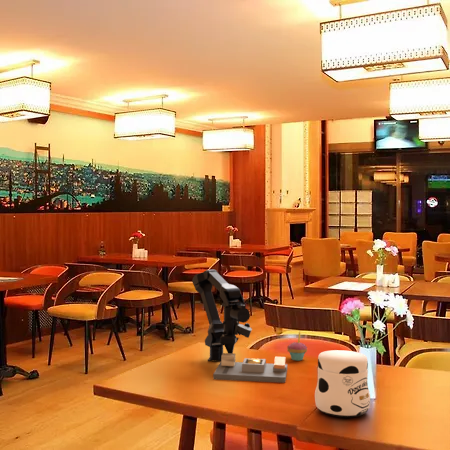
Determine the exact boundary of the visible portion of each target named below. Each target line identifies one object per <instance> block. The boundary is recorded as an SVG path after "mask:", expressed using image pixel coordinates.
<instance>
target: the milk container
mask: <svg viewBox="0 0 450 450" xmlns="http://www.w3.org/2000/svg"><path fill="white" fill-rule="evenodd" d="M368 368H369V363H368V357H367V355H365V354H363V353H361V352H357V351H352V350H343V349H342V350H337V349H334V350H333V349H332V350H325V351H322V352H320V353H319V354H318V357H317V383H316V387H315V391H314V401H315V407H316V408H317V409H318V410H319V411H320V412H321V413H323V414H325V415H328V416H332V417H336V418H346V419H347V418H357V417H361V416H363V415H364V414H366V413H367V412H368V411H369V409H370V407H371V406H370V405H371V393H370V390H369V386H368V384H369V383H368V376H369V375H368V373H369V371H368V370H369V369H368Z"/></svg>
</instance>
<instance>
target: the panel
mask: <svg viewBox="0 0 450 450" xmlns="http://www.w3.org/2000/svg"><path fill="white" fill-rule="evenodd" d="M248 359H252V358H247V357H244V359H243V362H242V361H241V362H239V361H235V365H234V366H221V361H219V363H218V365H217V367H216V368H215V371H214V372H213V375H212V376H213V380H218V381H220V380H223V381H242V382H244V381H245V382H262V383H265V382H266V383H283V384H284V383H286V378H287V373H288V363H285V369H279V368H274V363H267V362H266V361H267V359H266V358H259V359H260V360H261V364H249V363H248Z"/></svg>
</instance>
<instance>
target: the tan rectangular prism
mask: <svg viewBox="0 0 450 450" xmlns="http://www.w3.org/2000/svg"><path fill="white" fill-rule="evenodd" d="M220 362H221V366H234V365H235V362H236V353H233V354H232V353H228V352H223V354H222V356H221V361H220Z"/></svg>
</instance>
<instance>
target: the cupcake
mask: <svg viewBox="0 0 450 450" xmlns="http://www.w3.org/2000/svg"><path fill="white" fill-rule="evenodd" d="M297 340H298V341H297V342H295V341H293V342H291V343H290V344H289V345H287V349H286V350H287V352H288V353H289V355H290V358H291V360H292V361H298V362H299V361H303V360H304V356H305V354H306V353H307V352H308V346H306V344H305V343H303V342H301V341H300V340H301V331H299V332H298V339H297Z"/></svg>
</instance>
